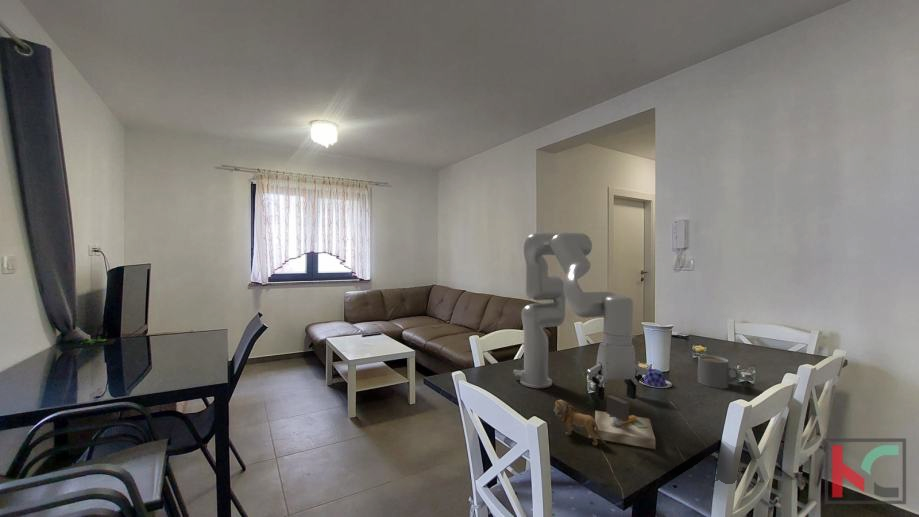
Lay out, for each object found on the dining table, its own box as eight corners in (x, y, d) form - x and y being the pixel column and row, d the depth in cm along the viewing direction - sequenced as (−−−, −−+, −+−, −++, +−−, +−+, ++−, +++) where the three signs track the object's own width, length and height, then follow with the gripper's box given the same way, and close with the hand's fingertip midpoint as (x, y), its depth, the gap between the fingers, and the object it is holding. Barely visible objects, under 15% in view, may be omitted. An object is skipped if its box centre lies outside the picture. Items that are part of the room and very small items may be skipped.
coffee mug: (694, 383, 143) (694, 358, 143) (702, 377, 150) (702, 353, 150) (735, 393, 133) (735, 366, 133) (742, 386, 140) (742, 361, 139)
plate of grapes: (639, 387, 140) (639, 373, 140) (636, 377, 151) (636, 364, 151) (674, 391, 136) (674, 377, 136) (669, 381, 147) (669, 368, 147)
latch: (623, 429, 100) (623, 403, 100) (606, 420, 105) (606, 396, 105) (643, 423, 104) (643, 398, 103) (625, 414, 109) (625, 391, 109)
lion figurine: (550, 432, 104) (551, 401, 104) (558, 425, 108) (558, 395, 108) (603, 449, 95) (603, 415, 95) (609, 440, 99) (609, 408, 99)
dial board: (594, 438, 100) (594, 428, 100) (595, 418, 113) (595, 409, 113) (655, 449, 95) (655, 438, 95) (649, 427, 107) (649, 417, 107)
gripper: (636, 335, 108) (634, 391, 109) (582, 336, 105) (581, 394, 106) (653, 341, 100) (651, 402, 101) (596, 343, 98) (594, 405, 99)
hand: (615, 398), depth 104 cm, fingers open, 9 cm apart
